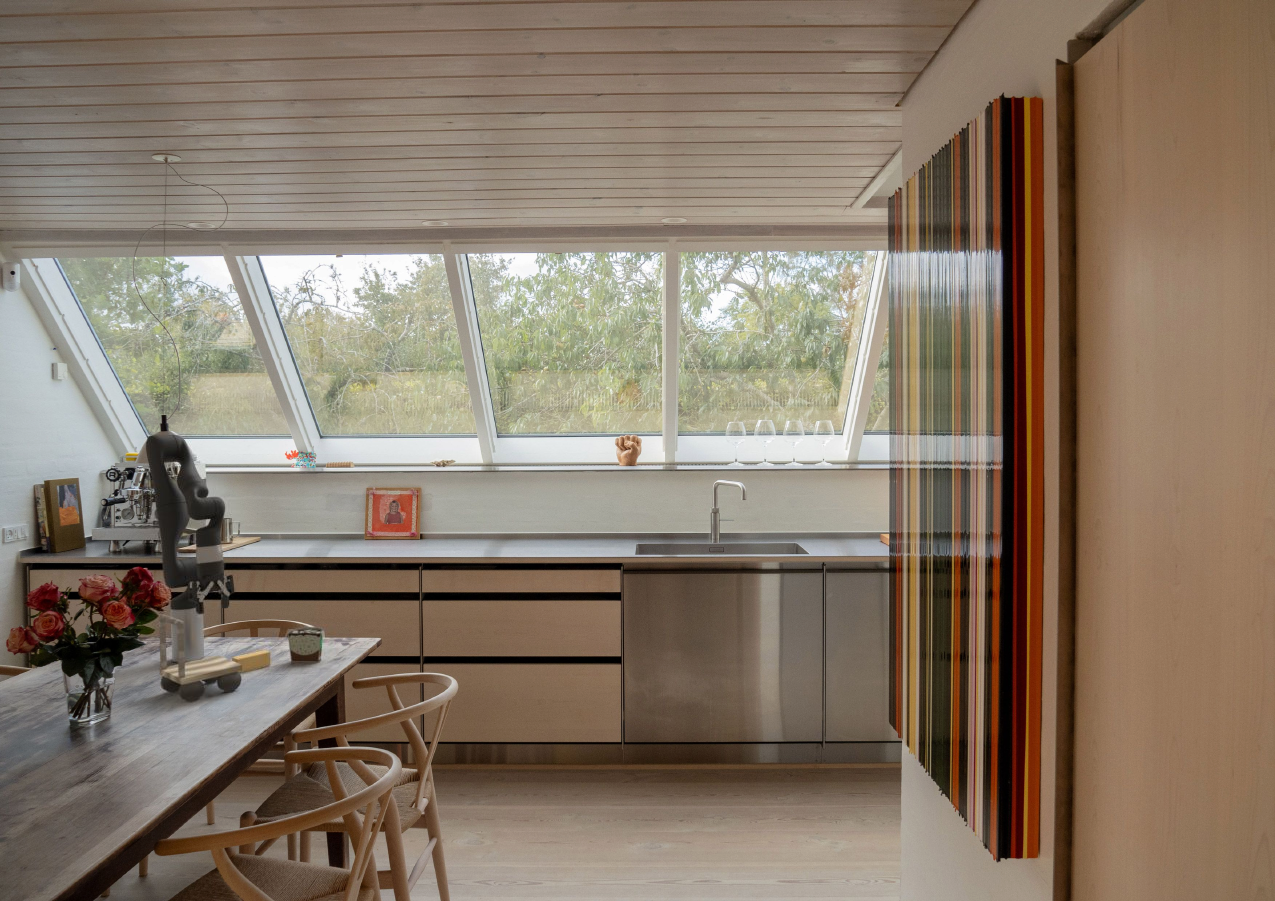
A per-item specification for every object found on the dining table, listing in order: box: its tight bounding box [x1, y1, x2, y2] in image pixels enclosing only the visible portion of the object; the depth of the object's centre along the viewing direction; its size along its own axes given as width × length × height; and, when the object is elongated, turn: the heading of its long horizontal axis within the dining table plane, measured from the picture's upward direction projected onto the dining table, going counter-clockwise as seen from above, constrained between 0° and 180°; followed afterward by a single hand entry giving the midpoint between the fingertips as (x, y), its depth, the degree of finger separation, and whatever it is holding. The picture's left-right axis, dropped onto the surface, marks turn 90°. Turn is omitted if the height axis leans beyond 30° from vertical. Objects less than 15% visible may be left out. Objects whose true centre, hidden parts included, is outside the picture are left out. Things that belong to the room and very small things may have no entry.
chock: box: [231, 649, 271, 674], centre depth 244 cm, size 4×10×4 cm, turn 140°
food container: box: [285, 626, 326, 663], centre depth 252 cm, size 12×6×10 cm, turn 84°
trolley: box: [158, 613, 242, 703], centre depth 222 cm, size 16×16×23 cm
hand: (213, 610), depth 246 cm, fingers open, 8 cm apart
